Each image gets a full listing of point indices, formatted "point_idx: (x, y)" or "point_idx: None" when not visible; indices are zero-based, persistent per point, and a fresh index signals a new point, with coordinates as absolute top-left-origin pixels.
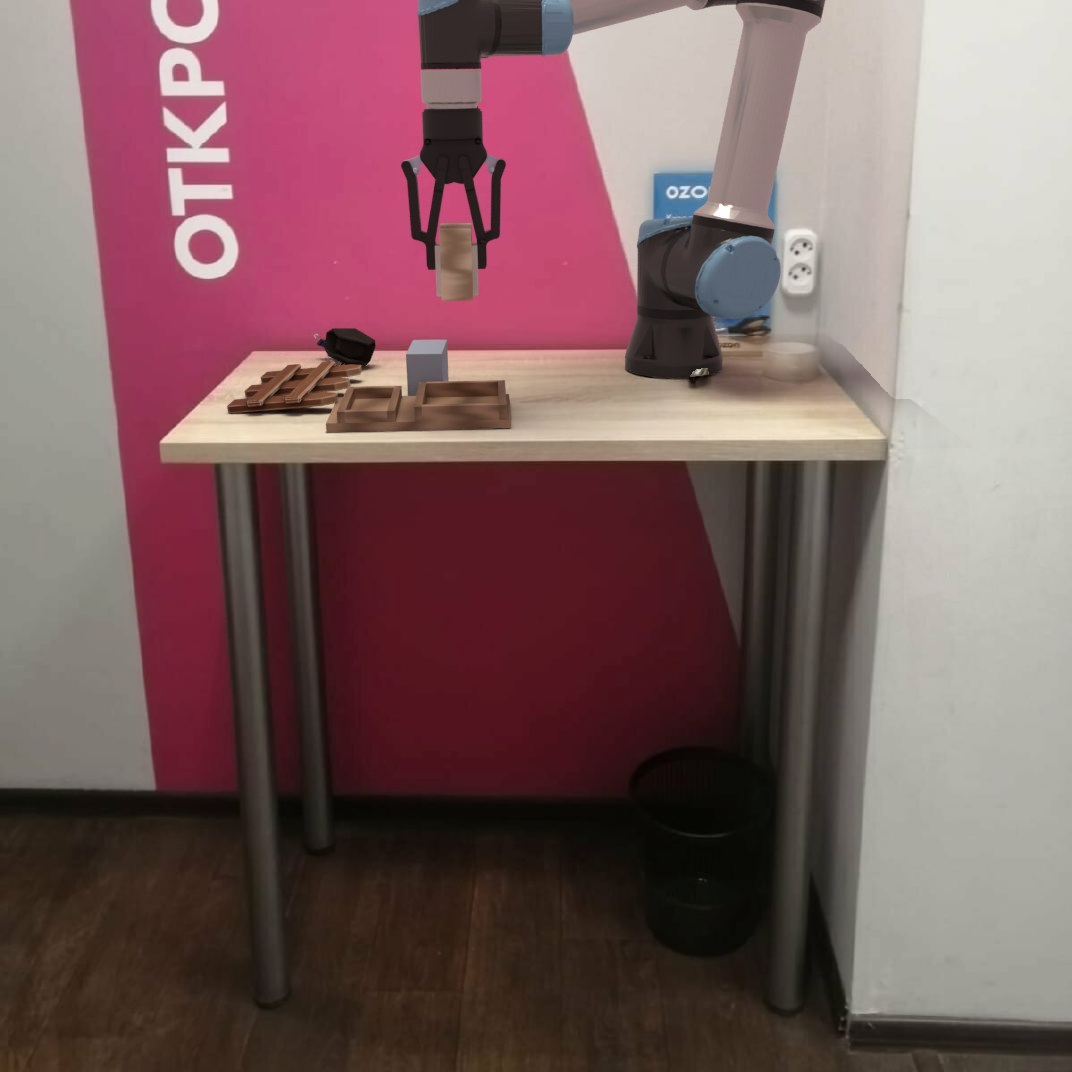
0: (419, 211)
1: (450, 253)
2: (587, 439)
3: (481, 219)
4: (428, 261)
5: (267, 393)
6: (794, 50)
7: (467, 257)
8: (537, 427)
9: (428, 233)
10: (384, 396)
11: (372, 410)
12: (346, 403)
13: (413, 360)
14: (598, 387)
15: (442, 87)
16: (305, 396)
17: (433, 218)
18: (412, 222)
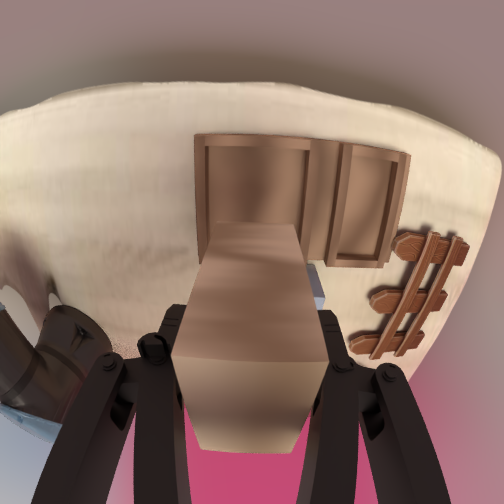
0: (383, 457)
1: (273, 291)
2: (117, 92)
3: (136, 416)
4: (333, 325)
5: (446, 263)
6: None
7: (210, 280)
8: (166, 139)
9: (351, 384)
10: (344, 254)
11: (369, 151)
12: (394, 192)
13: (314, 292)
14: (118, 294)
15: None
16: (421, 248)
17: (341, 432)
18: (412, 408)
